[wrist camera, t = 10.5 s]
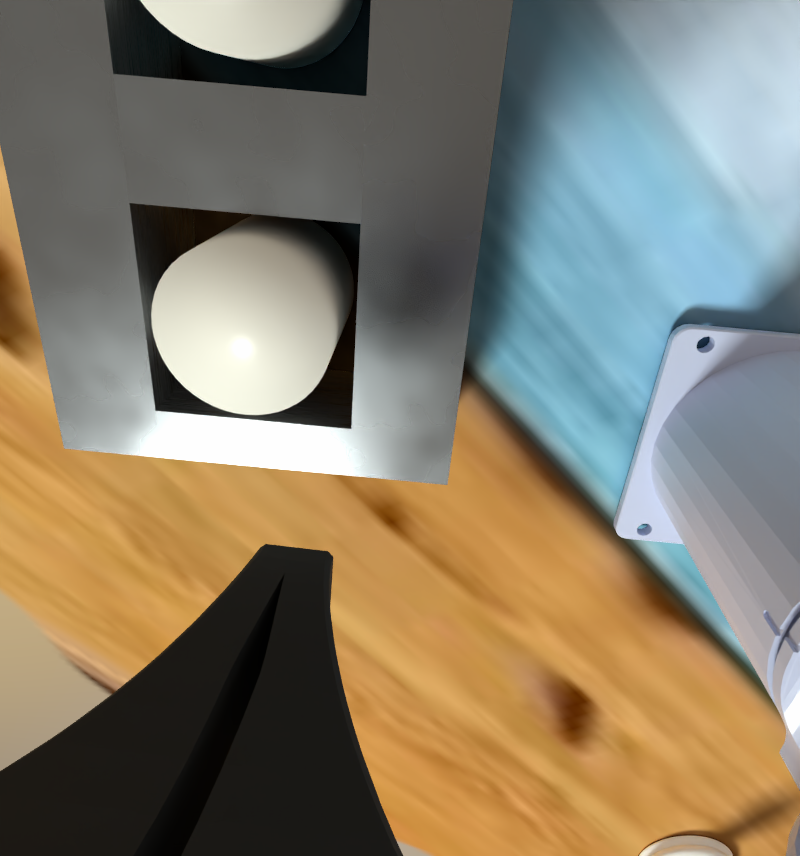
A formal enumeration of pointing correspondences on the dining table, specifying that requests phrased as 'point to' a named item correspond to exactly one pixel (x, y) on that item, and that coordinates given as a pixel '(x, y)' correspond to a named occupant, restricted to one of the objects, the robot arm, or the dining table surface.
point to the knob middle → (260, 27)
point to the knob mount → (251, 194)
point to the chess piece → (687, 847)
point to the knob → (254, 313)
